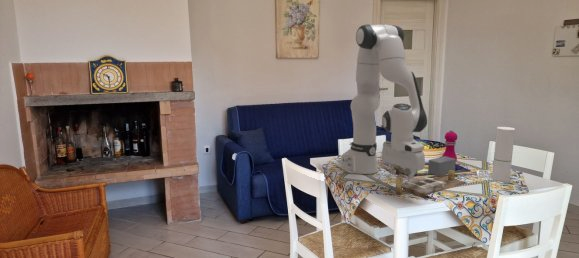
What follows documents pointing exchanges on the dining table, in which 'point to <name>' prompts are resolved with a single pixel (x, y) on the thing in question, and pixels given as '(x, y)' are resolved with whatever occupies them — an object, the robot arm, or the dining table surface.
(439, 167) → the housing
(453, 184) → the board
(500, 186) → the dining table surface
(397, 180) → the brass pin
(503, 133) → the cylindrical container
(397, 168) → the ceramic sculpture
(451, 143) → the pepper mill
